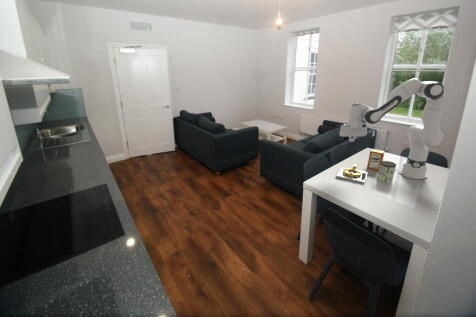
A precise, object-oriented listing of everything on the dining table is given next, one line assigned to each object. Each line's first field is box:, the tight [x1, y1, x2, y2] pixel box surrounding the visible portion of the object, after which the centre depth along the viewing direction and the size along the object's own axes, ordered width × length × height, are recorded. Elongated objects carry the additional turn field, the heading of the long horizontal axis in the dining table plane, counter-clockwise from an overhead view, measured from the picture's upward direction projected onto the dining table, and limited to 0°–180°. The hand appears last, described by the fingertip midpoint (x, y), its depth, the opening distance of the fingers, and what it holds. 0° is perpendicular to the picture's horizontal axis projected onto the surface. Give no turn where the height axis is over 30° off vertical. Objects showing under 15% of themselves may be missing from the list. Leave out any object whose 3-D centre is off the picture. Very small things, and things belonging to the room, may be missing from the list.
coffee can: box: [376, 160, 397, 184], centre depth 175 cm, size 10×10×14 cm
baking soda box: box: [366, 148, 385, 172], centre depth 195 cm, size 10×6×16 cm
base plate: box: [335, 166, 369, 185], centre depth 184 cm, size 20×20×6 cm
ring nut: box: [343, 163, 363, 177], centre depth 185 cm, size 13×18×4 cm
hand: (351, 141), depth 184 cm, fingers closed
